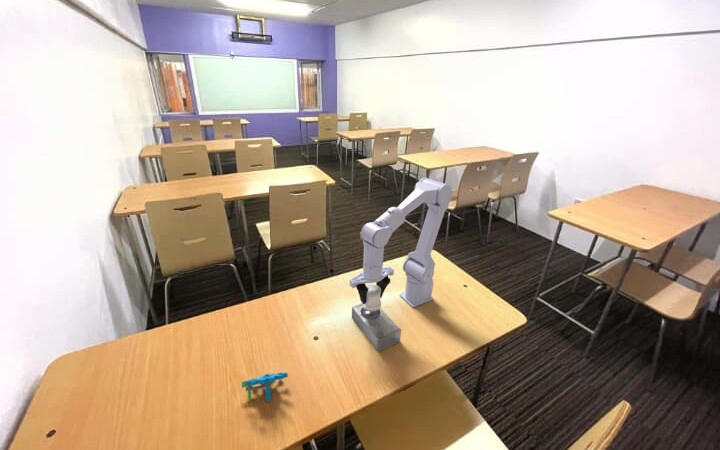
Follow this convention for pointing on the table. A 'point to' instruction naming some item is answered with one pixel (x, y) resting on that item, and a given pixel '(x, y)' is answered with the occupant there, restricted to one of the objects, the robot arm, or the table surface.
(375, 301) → the white cabinet knob
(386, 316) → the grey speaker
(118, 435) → the table surface
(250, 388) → the blue legged part
